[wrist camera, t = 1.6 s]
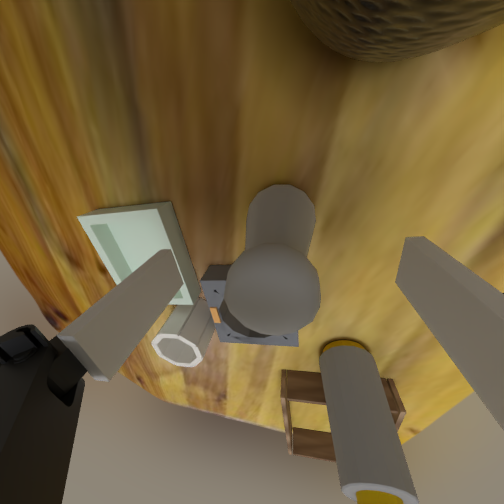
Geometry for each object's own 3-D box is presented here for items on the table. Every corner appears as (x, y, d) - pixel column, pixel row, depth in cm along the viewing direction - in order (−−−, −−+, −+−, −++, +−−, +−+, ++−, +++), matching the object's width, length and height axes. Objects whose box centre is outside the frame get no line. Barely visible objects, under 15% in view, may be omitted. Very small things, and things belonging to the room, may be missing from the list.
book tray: (281, 369, 32) (280, 397, 29) (392, 379, 29) (406, 412, 25) (288, 428, 42) (288, 454, 38) (372, 440, 38) (379, 470, 35)
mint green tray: (96, 209, 23) (76, 216, 21) (170, 201, 21) (157, 208, 19) (140, 291, 28) (127, 303, 26) (201, 291, 26) (193, 304, 24)
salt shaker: (267, 245, 21) (240, 363, 10) (241, 196, 19) (172, 278, 8) (321, 224, 19) (363, 345, 8) (300, 167, 17) (315, 223, 6)
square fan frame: (209, 265, 24) (199, 281, 21) (294, 262, 22) (295, 281, 19) (226, 323, 29) (219, 343, 26) (298, 326, 27) (298, 348, 24)
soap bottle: (312, 362, 30) (335, 601, 14) (324, 332, 26) (369, 605, 11) (361, 372, 29) (439, 636, 14) (379, 341, 25) (512, 652, 10)
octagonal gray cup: (171, 296, 28) (144, 332, 23) (211, 297, 27) (192, 335, 21) (184, 326, 31) (163, 364, 26) (221, 328, 29) (206, 368, 24)
